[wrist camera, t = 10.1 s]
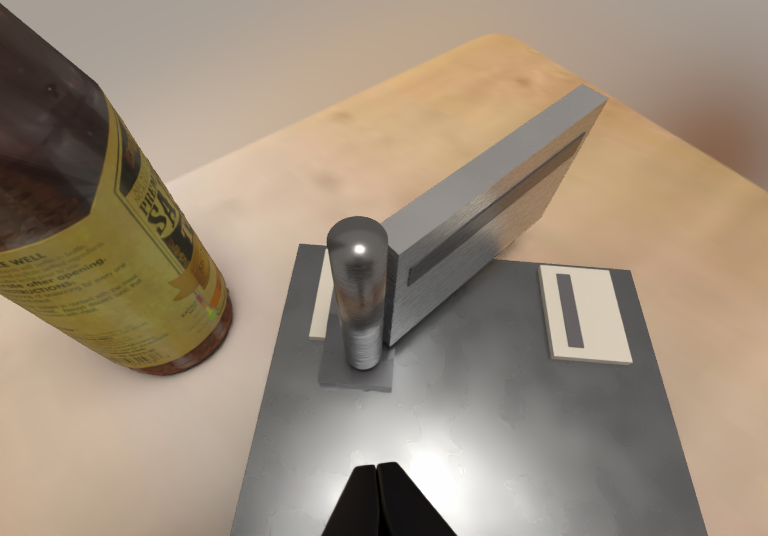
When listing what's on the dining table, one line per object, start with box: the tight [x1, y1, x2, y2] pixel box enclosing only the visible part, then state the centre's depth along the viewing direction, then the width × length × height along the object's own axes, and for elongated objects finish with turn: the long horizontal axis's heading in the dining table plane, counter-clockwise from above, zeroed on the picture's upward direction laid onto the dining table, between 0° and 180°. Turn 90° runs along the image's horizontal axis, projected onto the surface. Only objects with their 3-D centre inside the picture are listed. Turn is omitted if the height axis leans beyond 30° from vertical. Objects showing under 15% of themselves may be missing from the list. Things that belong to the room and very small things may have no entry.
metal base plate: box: [230, 244, 708, 536], centre depth 18 cm, size 16×18×2 cm
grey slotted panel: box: [327, 84, 609, 370], centre depth 16 cm, size 13×2×8 cm, turn 132°
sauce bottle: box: [0, 3, 232, 375], centre depth 12 cm, size 7×6×20 cm
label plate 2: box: [538, 265, 633, 365], centre depth 20 cm, size 5×4×1 cm
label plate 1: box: [309, 249, 339, 341], centre depth 20 cm, size 5×4×1 cm
